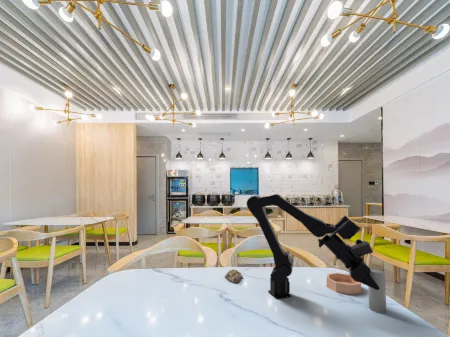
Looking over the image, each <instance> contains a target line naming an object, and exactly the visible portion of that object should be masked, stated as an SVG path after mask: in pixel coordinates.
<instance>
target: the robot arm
mask: <svg viewBox="0 0 450 337" xmlns="http://www.w3.org/2000/svg"><path fill="white" fill-rule="evenodd" d="M269 206H276V207H278V209H280V210H282V211H284V212H285V213H287V214H288V215H290V217H293V218H294V219H296V220H297V221H298V222H300V223H301V224H302V225H303V226H304V228H306V230H308V231H309V232H310V234H312V235H313V236H314V237H316V238H317V242H318V247H319V248H322V247H323V246H325V247H326V248H327V249H328V250H329V251H330V252H331V253H332V254H333V255H334V256H335V258H336V259H337V260H339V261H340V262H341V263H342V264H343V266H344V267H345V269H347V270H348V274H349V275H350V276H351V278H352V279H353V280H354V281H357V282H360V283H361V285H365V286H367V287H368V288H369V287H371V288H373V289H376V290H379V289H380V288H379V286H378V285H377V283H376V282H375V281H374V279H373V278H372V277H371V275H370V271H371V268H370V266H369V265H368V264H367V263H366V261H365V262H364V258H363V256H366V255H370V254H373V253H374V250H373V249H372V247H371V245H370V243H369V242H368V241H367V240H364V241H363V240H362V239H360V238H358V239H356V240H355V243H354V244H353V245H352V246H351V245H350V244H347V243H346V242H345V240H351V239H352V238H353V237H354V236H355V235H356V234H358V233H359V232H360V231H361V230H362V229H361V227H359V225H357V224H356V223H355V222H354V221H352V220H351V219H350V218H349V217H348V216H347V215H344V216H342V217H341V219H340V220H339V221H337V222H336V223H335V224H332V223H326V222H325V221H324V220H322V219H320V218H317V217H315V216H313V215H311V214H308V213H307V212H305V211H303V210H301V209H300V208H299V207H297V206H296V205H294V204H293V203H291V202H289V201H288V200H287V199H285V198H284V197H282V196H281V195H280V194H278V193H276V194H272V195H268V196H259V195H253V196H250V197H249V198H248V199H247V201H246V207H247V209H248V210H249V212H250V214H251V215H252V216H253V217H254V218H255V219H256V221H257V223H258V224H259V227H260V229H261V232H262V233H263V235H264V237H265V240H266V242H267V245H268V246H269V249H270V251H271V253H272V257H273V262H274V265H275V266H274V267H273V268H272V270H271V273H270V278H269V280H270V281H269V282H270V288H269V290H268V293H269V294H270V295H271V296H272V297H274V299H277V300H279V299H283V298H284V299H285V298H291V297H292V294H291V293H290V291H291V289H290V287H291V286H290V283H291V282H290V278H289V276H291V275H292V272H293V267H294V259H293V258H292V256H291V254H290V251H289V250H288V251H285V250H284V249H283V248H282V245H281V243H280V241H279V238H278V236H277V235H276V232H275V230H274V228H273V225H272V223H271V222H270V220H269V218H268V216H267V215H268V214H267V209H266V207H269ZM337 234H338V235H337ZM342 239H343V240H344V241H343V240H342Z"/></svg>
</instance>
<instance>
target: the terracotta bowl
mask: <svg viewBox="0 0 450 337" xmlns="http://www.w3.org/2000/svg"><path fill="white" fill-rule="evenodd" d="M326 287H327V288H328V289H330V290H332V291H334V292H335V293H340V294H347V295H355V294H362V283H360V282H357V281H354V280H353V279H352V278H351V276H350V274H349V273H348V274H347V273H341V272H331V273H327V274H326Z"/></svg>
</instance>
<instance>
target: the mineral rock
mask: <svg viewBox="0 0 450 337" xmlns="http://www.w3.org/2000/svg"><path fill="white" fill-rule="evenodd" d="M223 277H224V278H225V279H226V280H227V281H228V282H230V283H233V284H234V283H235V284H237V283H240V281H241V280H242V279H243V278H244V275H242V272H239V271H238V270H237V269H234V268H233V269H231V270H229V271H228V272H227V273H226V274H225V275H224V276H223Z"/></svg>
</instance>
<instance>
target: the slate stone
mask: <svg viewBox="0 0 450 337" xmlns="http://www.w3.org/2000/svg"><path fill="white" fill-rule="evenodd" d="M370 269H371V268H370ZM370 275H371V277H372V278H373V279H374V281H375V282H376V283H377V285H378V286H379V288H380V289H379V290H376V289H373V288H371V287H369V286H368V308H369V309H370V310H371V311H373V312H374V313H379V314H380V313H381V314H385V313H387V292H386V290H387V288H386V287H387V285H386V284H387V283H386V282H387V281H386V272H385V271H383V270H380V269H373V268H372V269H371V271H370Z"/></svg>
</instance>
